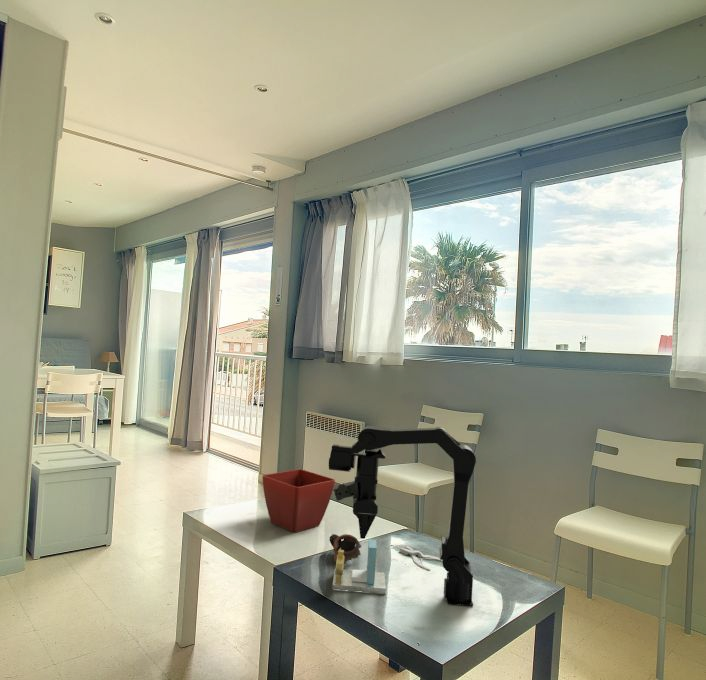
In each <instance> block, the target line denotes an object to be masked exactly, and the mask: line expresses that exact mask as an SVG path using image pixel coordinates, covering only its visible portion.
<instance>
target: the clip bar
mask: <svg viewBox="0 0 706 680" xmlns="http://www.w3.org/2000/svg"><path fill="white" fill-rule="evenodd" d="M367 549H368V550H367V564H366V569H365V570H364V569H351V570H352V581H354V582H367V584H374V581H375V572H376V565H377V564H376V562H377V549H378V547H377V539H368V548H367Z"/></svg>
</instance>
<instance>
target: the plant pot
mask: <svg viewBox="0 0 706 680" xmlns="http://www.w3.org/2000/svg"><path fill="white" fill-rule="evenodd" d="M335 483H336V479H334V478H331V477H328V476H325V475H321V474H318V473H315V472H312V471H309V470H305V469H292V470H286V471H281V472H273V473H266V474H262V488H263V493H264V500H265V505H266V509H267V513H268V516H269V519H270V522H271V524H274V525H275V526H278V527H280V528H283V529H284V530H286V531H289V532H292V533H297V532H302V531H305V530H308V529H312V528H315V527H319V526H320V525H321V523H322V522H323V518H324V517H325V515H326V514H325V513H326V512H327V509H328V507H329V504H330V501H331V498H332V495H333V494H332V493H333V492H334V487H335Z"/></svg>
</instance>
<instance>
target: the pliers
mask: <svg viewBox="0 0 706 680" xmlns="http://www.w3.org/2000/svg"><path fill="white" fill-rule="evenodd" d="M399 553H401V554H402V555H403V554H404V555H405V556H408V555H409V557H410V558H411V559H412V561H413V563H414V564H415V565H417V566H418V567H420V568H422V569H423V570H425V571H430V572H431V569H430V568H429V567H427V566H425V565H424V564H423V560H427V561H439V562H442V560H440V557H437V556H434V555H430V554H429V555H427V554H423V553H422V552H421V551H419V550H414V548H412V547H410V546H407V545H406V546H405V548H404V547H399ZM418 557H420V559H419V558H418ZM419 560H420V561H419Z"/></svg>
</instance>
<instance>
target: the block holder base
mask: <svg viewBox="0 0 706 680" xmlns="http://www.w3.org/2000/svg"><path fill="white" fill-rule="evenodd" d="M335 563H336V564H335V568H334V572H333V577H332V578H333V579H332V588H331V589H340V590H348V591H362V592H369V593H368V594H372V593H377V594H376V595H386V594H387V587H386V575H385V572H381V571H375V581H374V584H367V582H354V581H352V570H353V569H344V568H345V566H344V564H345V561H344V550H341V549H339V550H338V555H337V561H336V562H335Z"/></svg>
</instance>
